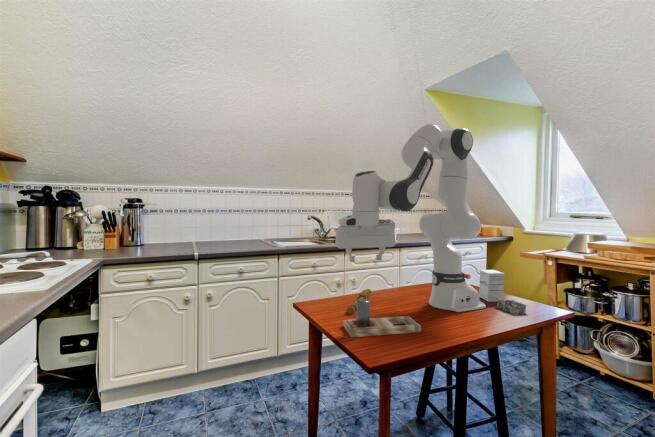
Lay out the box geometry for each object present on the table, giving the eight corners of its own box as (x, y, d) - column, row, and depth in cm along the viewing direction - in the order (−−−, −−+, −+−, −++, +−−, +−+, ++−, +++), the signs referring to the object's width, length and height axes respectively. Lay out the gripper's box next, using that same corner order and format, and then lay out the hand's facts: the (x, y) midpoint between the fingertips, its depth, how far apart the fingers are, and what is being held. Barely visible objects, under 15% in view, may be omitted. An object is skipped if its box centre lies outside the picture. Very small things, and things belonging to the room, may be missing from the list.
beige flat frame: (408, 321, 122) (408, 315, 122) (421, 331, 113) (421, 325, 112) (343, 325, 118) (343, 319, 118) (351, 337, 108) (351, 330, 108)
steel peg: (367, 327, 116) (367, 298, 116) (371, 332, 112) (372, 302, 112) (355, 328, 116) (355, 299, 115) (358, 333, 111) (359, 303, 111)
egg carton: (494, 307, 140) (494, 297, 140) (510, 306, 142) (510, 296, 142) (512, 315, 130) (512, 304, 130) (529, 314, 131) (529, 303, 131)
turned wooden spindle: (346, 306, 130) (365, 287, 158) (346, 314, 131) (365, 294, 159) (354, 307, 129) (372, 288, 157) (354, 315, 130) (372, 294, 158)
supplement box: (478, 297, 154) (479, 269, 153) (494, 296, 154) (495, 269, 154) (487, 302, 146) (488, 273, 146) (503, 301, 147) (504, 272, 146)
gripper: (391, 218, 118) (391, 258, 119) (334, 219, 114) (334, 260, 115) (398, 219, 112) (398, 261, 113) (338, 221, 108) (338, 264, 109)
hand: (365, 260), depth 114 cm, fingers open, 8 cm apart
